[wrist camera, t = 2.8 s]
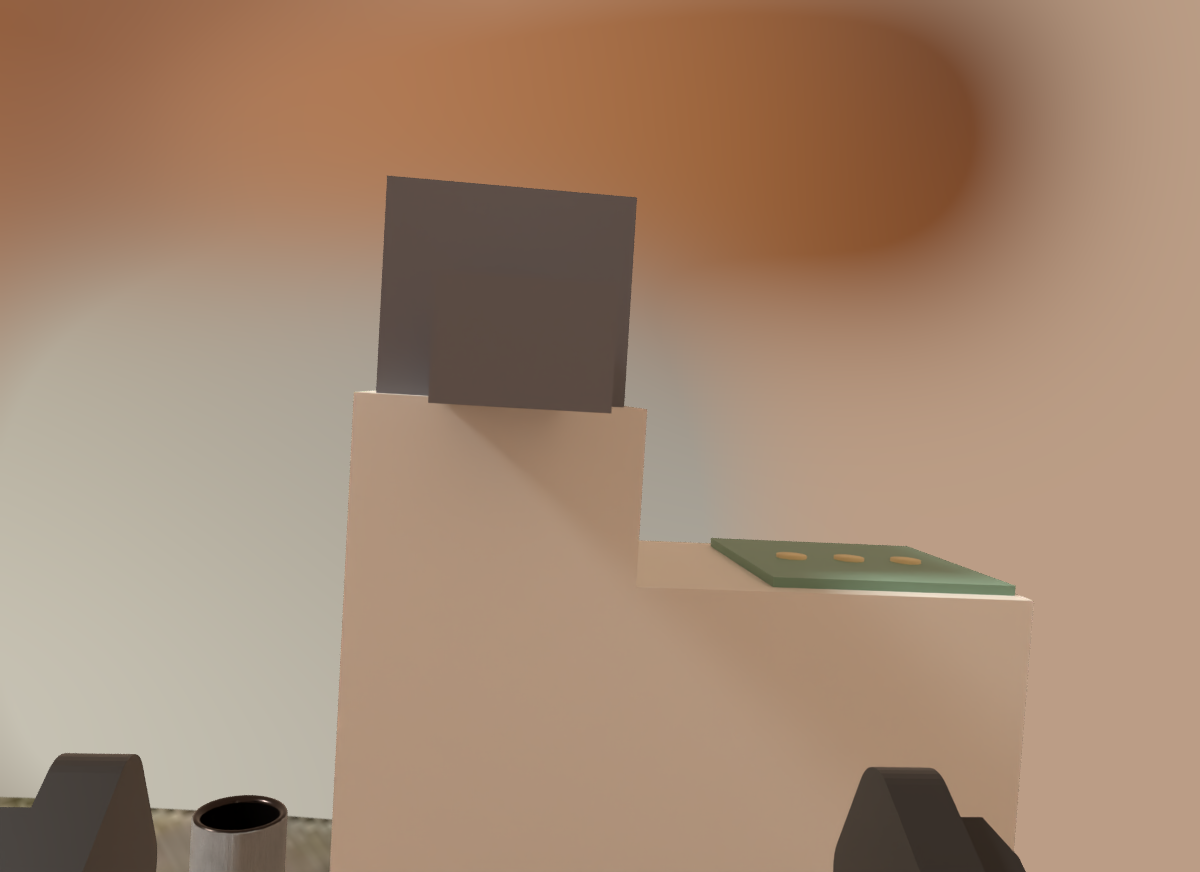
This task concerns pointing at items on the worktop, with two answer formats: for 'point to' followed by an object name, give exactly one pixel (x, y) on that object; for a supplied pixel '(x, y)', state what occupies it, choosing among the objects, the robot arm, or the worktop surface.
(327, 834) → the worktop surface
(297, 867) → the worktop surface
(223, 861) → the planter
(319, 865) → the worktop surface
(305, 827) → the worktop surface
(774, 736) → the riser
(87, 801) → the robot arm
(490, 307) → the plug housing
